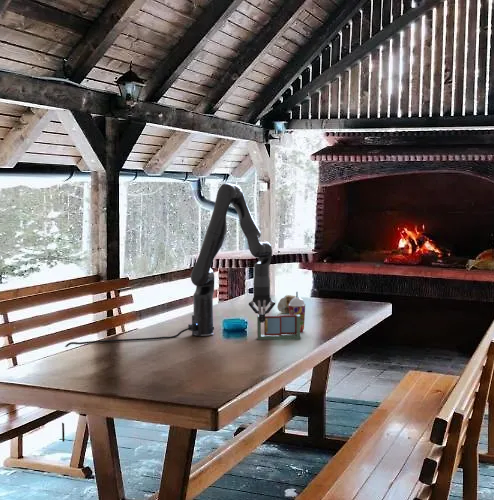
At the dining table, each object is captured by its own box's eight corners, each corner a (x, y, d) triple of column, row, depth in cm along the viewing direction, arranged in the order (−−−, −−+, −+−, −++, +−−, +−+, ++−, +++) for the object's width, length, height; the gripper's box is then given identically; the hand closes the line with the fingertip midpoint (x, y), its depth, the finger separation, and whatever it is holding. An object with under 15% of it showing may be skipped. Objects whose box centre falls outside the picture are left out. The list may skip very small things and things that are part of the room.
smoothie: (303, 333, 357) (303, 293, 355) (286, 333, 358) (286, 292, 357) (307, 330, 365) (306, 290, 363) (290, 330, 367) (290, 290, 365)
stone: (276, 309, 430) (276, 292, 429) (296, 309, 431) (296, 292, 430) (277, 314, 413) (277, 296, 412) (298, 314, 414) (298, 296, 413)
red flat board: (281, 336, 340) (281, 317, 340) (264, 337, 340) (264, 317, 339) (281, 335, 344) (281, 315, 344) (264, 335, 344) (264, 315, 343)
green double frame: (300, 339, 344) (300, 316, 343) (257, 339, 343) (257, 316, 342) (299, 337, 348) (299, 314, 347) (257, 337, 347) (257, 314, 346)
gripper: (276, 284, 343) (276, 320, 344) (247, 284, 342) (248, 321, 343) (276, 286, 335) (276, 323, 336) (247, 286, 335) (247, 323, 336)
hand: (262, 322), depth 340 cm, fingers closed
